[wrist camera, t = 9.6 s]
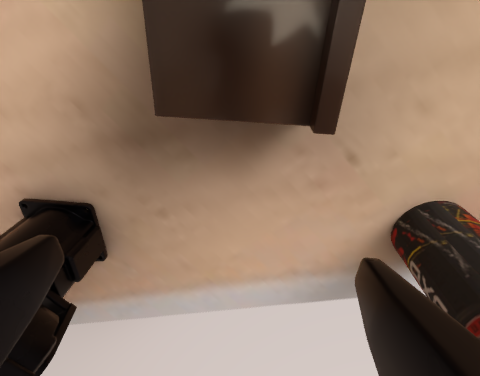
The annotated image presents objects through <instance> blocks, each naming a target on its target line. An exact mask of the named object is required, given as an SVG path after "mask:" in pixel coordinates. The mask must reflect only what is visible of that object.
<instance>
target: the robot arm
mask: <svg viewBox="0 0 480 376" xmlns="http://www.w3.org/2000/svg"><path fill="white" fill-rule="evenodd" d="M19 206H20V208H21V211H22V213H23V215H24V217H25V218H23V219H22V220H21V221H19V222H18V223H16V224H15V225H14V226H12V227H11V228H10V229H8V230H7V231H6V232H4V233H3V234H2V235H0V376H40V375H41V374H42V373H43V371H44V370H45V369H46V367H47V366H48V364H49V363H50V361H51V360H52V358H53V356H54V354H55V352H56V351H57V348H58V346H59V344H60V342H61V340H62V338H63V335H64V334H65V331H66V329H67V327H68V325H69V323H70V321H71V319H72V317H73V315H74V312H75V310H76V308H77V307H76V306H75V305H74V304H72V303H69V302H67V301H66V300H65V299H63V297H64V295H65V294H66V293H67V291H68V290H69V289H70V288H71V286H72V285H73V284H74V282H79V281H80V280H81V279H82V278H83V277H84V276H85V274H86V273H87V272H88V270H89V269H90V268H91V266H92V265H93V264H94V262H95V261H104V260H105V259H106V258H107V252H106V249H105V244H104V241H103V237H102V233H101V230H100V227H99V223H98V220H97V216H96V213H95V209H94V207H93V206H92V205H91V204H88V203H77V202H64V201H51V200H38V199H23V200H22V201H20V202H19ZM86 208H87V209H88V210H87V209H86ZM355 287H356V292H357V296H358V301H359V305H360V310H361V315H362V319H363V324H364V328H365V332H366V336H367V340H368V343H369V347H370V350H371V353H372V356H373V359H374V362H375V365H376V368H377V371H378V374H379V376H480V339H479V338H478V337H476V336H475V335H474V334H473V333H471V332H470V331H469V330H468V329H466V328H465V327H464V326H463V325H461V324H460V323H459V322H458V321H456V320H455V319H454V318H453V317H451V316H450V315H449V314H448V313H446V312H445V311H444V310H443V309H441V308H440V307H439V306H438V305H436V304H435V303H434V302H433V301H431V300H430V299H429V298H428V297H426V296H425V295H424V294H423V293H421V292H420V291H419V290H418V289H416V288H415V287H414V286H412V285H411V284H410V283H409V282H407V281H406V280H405V279H404V278H402V277H401V276H400V275H399V274H397V273H396V272H395V271H394V270H392V269H391V268H390V267H389V266H387V265H386V264H385V263H384V262H382V261H381V260H380V259H377V258H363V259H362V261H361V263H360V266H359V269H358V271H357V274H356V277H355Z"/></svg>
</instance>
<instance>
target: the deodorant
mask: <svg viewBox="0 0 480 376" xmlns="http://www.w3.org/2000/svg"><path fill="white" fill-rule="evenodd" d="M391 241H392V243H393V246H394V247H395V249H396V250H397V252H398V253H399V255H400V257H401V258H402V260H403V261H404V263H405V264H406V266H407V267H408V269H409V270H410V272H411V273H412V275H413V276H414V278H415V279H416V281H417V282H418V284H419V285H420V287H421V289H422V290H423V292H424V293H425V294H426V296H427V297H428V298H429V299H430V300H431V301H433V302H434V303H435V304H436V305H438V306H439V307H440V308H441V309H443V310H444V311H445V312H446V313H448V314H449V315H450V316H451V317H453V318H454V319H455V320H456V321H458V322H459V323H460V324H461V325H463V326H464V327H465V328H466V329H468V330H469V331H470V332H471V333H473V334H474V335H475V336H476V337H478V338H479V339H480V222H479V221H478V220H477V219H476V218H474V217H473V216H472V215H471V214H470V213H468V212H467V211H466V210H465V209H463V208H462V207H460V206H459V205H457V204H455V203H451V202H448V201H434V202H428V203H424V204H422V205H419V206H416V207H414V208H413V209H411V210H409V211H408V212H406V213H405V214H404V215H403V216H401V217H400V218H399V219H398V221H397V222H396V224H395V225H394V227H393V230H392V232H391Z"/></svg>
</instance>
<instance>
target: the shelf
mask: <svg viewBox="0 0 480 376" xmlns="http://www.w3.org/2000/svg"><path fill="white" fill-rule="evenodd" d="M142 2H143V11H144V20H145V29H146V37H147V46H148V55H149V64H150V73H151V82H152V90H153V99H154V108H155V115H156V116H161V117H177V118H192V119H208V120H223V121H239V122H254V123H270V124H285V125H301V126H310V128H311V129H312V131H313V133H316V134H332V135H334V134H335V131H336V126H337V122H338V118H339V113H340V109H341V105H342V100H343V96H344V92H345V88H346V83H347V79H348V75H349V70H350V66H351V62H352V58H353V53H354V49H355V45H356V40H357V36H358V32H359V27H360V23H361V19H362V15H363V10H364V6H365V2H366V0H142Z"/></svg>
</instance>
